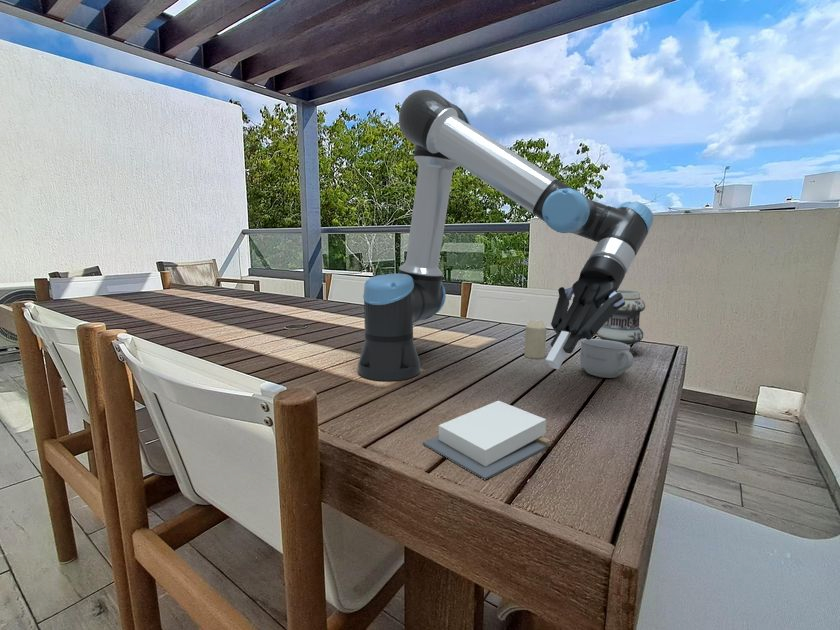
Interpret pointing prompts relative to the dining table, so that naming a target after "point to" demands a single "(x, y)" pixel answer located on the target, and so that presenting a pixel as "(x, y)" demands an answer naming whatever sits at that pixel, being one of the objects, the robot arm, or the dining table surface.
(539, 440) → the oak strip
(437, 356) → the dining table surface
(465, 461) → the mat
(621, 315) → the apothecary jar
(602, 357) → the teacup
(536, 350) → the candle
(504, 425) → the tile
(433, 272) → the robot arm
